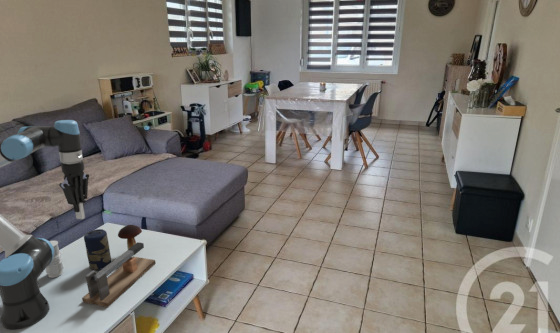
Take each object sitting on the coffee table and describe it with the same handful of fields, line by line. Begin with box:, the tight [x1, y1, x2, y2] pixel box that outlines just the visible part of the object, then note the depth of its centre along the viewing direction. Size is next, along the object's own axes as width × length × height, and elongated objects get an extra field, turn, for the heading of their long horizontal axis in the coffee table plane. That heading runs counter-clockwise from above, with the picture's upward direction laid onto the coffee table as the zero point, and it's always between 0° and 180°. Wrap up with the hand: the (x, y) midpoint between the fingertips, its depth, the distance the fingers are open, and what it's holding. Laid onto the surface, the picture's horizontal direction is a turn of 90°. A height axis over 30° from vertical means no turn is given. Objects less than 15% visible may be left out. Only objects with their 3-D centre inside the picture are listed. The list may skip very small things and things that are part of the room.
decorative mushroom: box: [117, 224, 143, 250], centre depth 181 cm, size 11×11×15 cm
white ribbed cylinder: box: [45, 240, 64, 279], centre depth 164 cm, size 7×7×15 cm
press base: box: [81, 256, 156, 308], centre depth 158 cm, size 12×32×12 cm, turn 164°
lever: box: [91, 241, 145, 281], centre depth 158 cm, size 4×29×2 cm, turn 164°
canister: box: [83, 228, 112, 271], centre depth 169 cm, size 10×10×18 cm
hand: (80, 218), depth 146 cm, fingers closed
